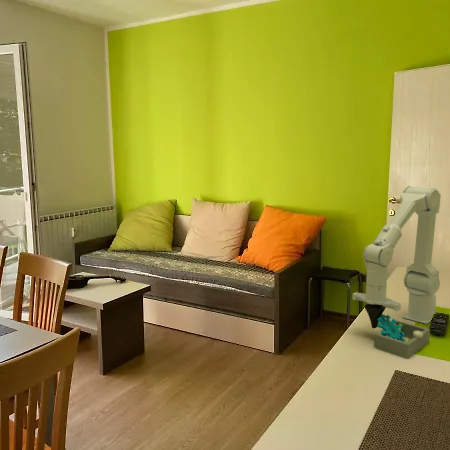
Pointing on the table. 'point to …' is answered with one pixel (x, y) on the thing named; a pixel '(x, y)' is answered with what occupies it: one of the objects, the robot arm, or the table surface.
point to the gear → (390, 328)
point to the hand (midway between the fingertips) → (374, 327)
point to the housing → (402, 348)
